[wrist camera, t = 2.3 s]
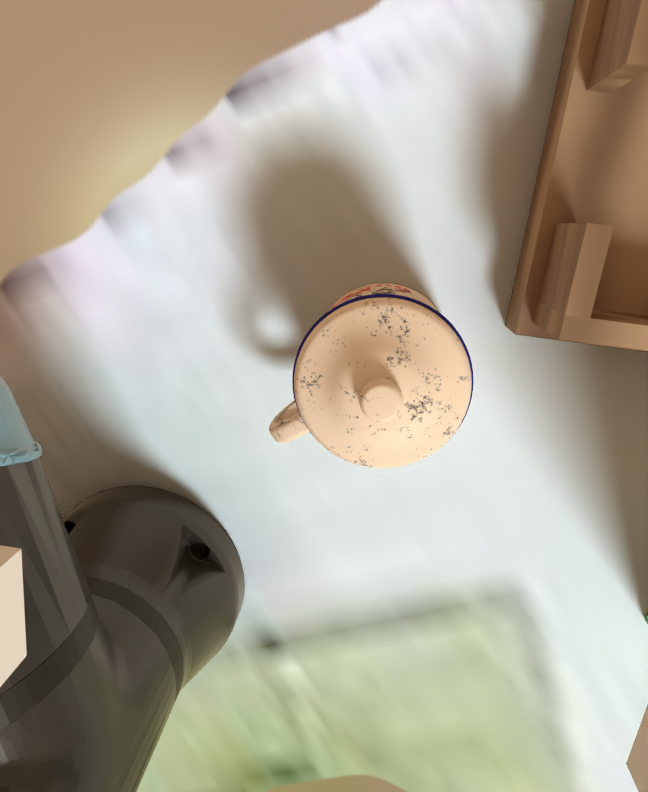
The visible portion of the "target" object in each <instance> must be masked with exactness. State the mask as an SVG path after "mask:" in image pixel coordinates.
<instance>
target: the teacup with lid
mask: <svg viewBox="0 0 648 792" xmlns="http://www.w3.org/2000/svg"><path fill="white" fill-rule="evenodd" d="M472 391H473V370H472V363H471V359H470V356H469V353H468V350H467V348H466V345H465V343H464V341H463V339H462V338H461V336H460V335H459V333H458V331H457V330H456V329H455V328H454V326H453V325H452V324H451V323H450V322H449V321H448V320H447V319H446V318H445V317H444V316H443V315H442V314H440V313H439V311H438V310H437V309H436V307H435V306H434V305H433V304H432V303H431V302H430V301H429V300H428V299H427V298H425V297H424V296H423V295H421V294H420V293H418V292H416V291H414V290H412V289H410V288H408V287H405V286H401V285H397V284H391V283H376V284H370V285H365V286H362V287H359V288H357V289H354V290H352V291H350V292H349V293H347V294H345V295H344V296H342V297H341V298H340V299H339V300H338V301H336V302H335V303H334V304H333V306H332V307H331V308H330V309H329V310H328V312H327V313H326V314H324V315H323V316H322V317H321V318H320V319H319V320H318V321H317V322H316V323H315V324H314V325H313V326H312V328H311V329H310V330H309V331H308V333H307V334H306V336H305V338H304V339H303V341H302V343H301V345H300V347H299V350H298V353H297V355H296V359H295V363H294V369H293V393H294V399H295V400H294V401H293V402H292V403H290V404H289V405H288V406H287V407H285V408H284V409H283V410H282V411H281V412H280V413H279V414H278V415H277V416H276V417H275V418H274V419H273V421H272V422H271V424H270V427H269V431H270V433H271V435H272V436H273V438H274V439H275V440H276V441H277V442H279V443H285V442H289V441H292V440H294V439H296V438H299V437H300V436H302V435H304V434H306V433H308V432H309V431H310V433H311V434H312V435H313V436H314V437H315V439H316V440H317V441H318V442H319V443H320V444H321V445H323V446H324V447H325V448H326V449H327V450H329V451H330V452H331V453H333V454H335V455H336V456H338V457H340V458H342V459H344V460H346V461H348V462H351V463H354V464H357V465H361V466H366V467H372V468H394V467H400V466H404V465H408V464H412V463H414V462H417V461H419V460H422V459H424V458H426V457H427V456H429V455H431V454H433V453H434V452H435V451H437V450H438V449H440V448H441V447H442V446H443V445H444V444H445V443H446V442H447V441H448V440H449V439H450V438H451V437H452V436H453V435H454V433H455V432H456V431H457V430H458V428H459V427H460V425H461V423H462V422H463V420H464V418H465V416H466V414H467V411H468V408H469V405H470V402H471V398H472Z"/></svg>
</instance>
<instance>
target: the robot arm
mask: <svg viewBox="0 0 648 792" xmlns="http://www.w3.org/2000/svg"><path fill="white" fill-rule="evenodd" d="M42 453H43V452H42V448H41V446H40V444H39V443H38V442H36V441H34V440H33V438H32V436H31V434H30V432H29V429H28V427H27V425H26V423H25V421H24V418H23V416H22V414H21V412H20V409H19V407H18V405H17V403H16V401H15V398H14V396H13V394H12V392H11V390H10V388H9V386H8V385H7V383H6V382H5V381H4V380H3V379H2V378H1V377H0V792H136V791H137V788H138V786H139V784H140V781H141V779H142V777H143V775H144V772H145V770H146V768H147V765H148V763H149V761H150V758H151V756H152V754H153V752H154V749H155V747H156V745H157V742H158V740H159V738H160V735H161V733H162V731H163V729H164V726H165V724H166V722H167V719H168V717H169V715H170V713H171V710H172V708H173V705H174V703H175V700H176V698H177V696H178V694H179V692H180V690H181V689H182V688H183V687H184V686H185V685H186V684H187V683H188V682H189V681H190V680H191V679H192V678H193V677H194V676H195V675H196V674H197V673H198V672H199V671H200V670H201V669H202V668H203V667H204V666H205V665H206V664H207V663H208V662H209V661H210V660H211V658H213V657H214V656H215V655H216V654H217V652H218V651H219V650H220V649H221V648H222V647H223V645H224V644H225V642H226V641H227V639H228V638H229V636H230V634H231V632H232V630H233V628H234V625H235V623H236V620H237V617H238V615H239V612H240V609H241V606H242V603H243V598H244V587H245V585H244V573H243V568H242V564H241V561H240V558H239V555H238V553H237V551H236V549H235V547H234V545H233V543H232V541H231V540H230V538H229V537H228V535H227V534H226V532H225V531H224V530H223V528H222V527H221V526H220V525H219V524H218V523H217V522H216V521H215V520H214V519H213V518H212V517H211V516H210V515H209V514H207V513H206V512H205V511H204V510H202V509H201V508H200V507H198V506H197V505H195V504H193V503H192V502H190V501H188V500H186V499H184V498H182V497H180V496H178V495H175V494H173V493H170V492H167V491H164V490H160V489H155V488H150V487H140V486H127V487H118V488H113V489H109V490H105V491H102V492H99V493H97V494H95V495H93V496H91V497H89V498H87V499H86V500H84V501H83V502H81V503H80V504H79V505H78V506H76V507H75V508H74V509H73V510H72V511H71V512H70V513H69V514H68V515H67V516H66V517H64V518H63V519H62V517H61V515H60V512H59V509H58V507H57V504H56V501H55V499H54V496H53V493H52V491H51V488H50V485H49V482H48V480H47V477H46V474H45V472H44V469H43V466H42V464H41V461H40V458H39V457H40V456H41V455H42ZM626 764H627V766H628V769H629V771H630V773H631V775H632V777H633V780H634V782H635V784H636V786H637V789H638V791H639V792H648V706H647V708H646V711H645V714H644V716H643V719H642V722H641V725H640V727H639V730H638V733H637V736H636V738H635V741H634V744H633V747H632V749H631V752H630V755H629V757H628V760H627V763H626Z"/></svg>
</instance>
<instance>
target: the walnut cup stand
mask: <svg viewBox="0 0 648 792" xmlns="http://www.w3.org/2000/svg"><path fill="white" fill-rule="evenodd" d="M505 326H506V327H507V328H509V329H510V330H511V331H512V332H513V333H515V334H516V335H523V336H531V337H538V338H546V339H554V340H561V341H569V342H576V343H584V344H591V345H599V346H606V347H614V348H621V349H629V350H637V351H644V352H648V0H575V3H574V8H573V12H572V17H571V22H570V26H569V31H568V36H567V40H566V45H565V50H564V54H563V59H562V64H561V68H560V73H559V78H558V82H557V87H556V92H555V96H554V101H553V106H552V110H551V115H550V119H549V124H548V129H547V133H546V138H545V143H544V147H543V152H542V157H541V161H540V166H539V171H538V175H537V180H536V185H535V189H534V194H533V199H532V203H531V208H530V213H529V217H528V222H527V227H526V231H525V236H524V241H523V245H522V250H521V255H520V259H519V264H518V269H517V273H516V278H515V282H514V287H513V292H512V296H511V301H510V306H509V310H508V315H507V320H506V324H505Z"/></svg>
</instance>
